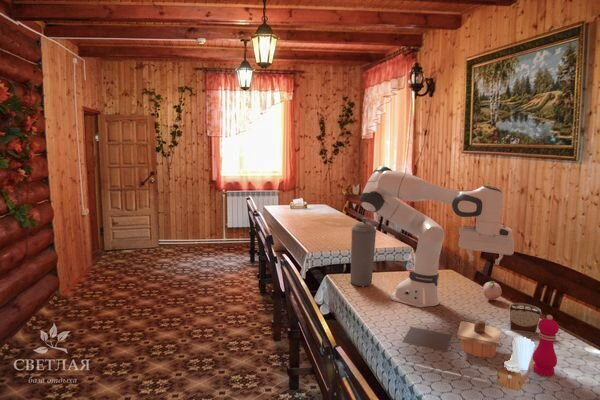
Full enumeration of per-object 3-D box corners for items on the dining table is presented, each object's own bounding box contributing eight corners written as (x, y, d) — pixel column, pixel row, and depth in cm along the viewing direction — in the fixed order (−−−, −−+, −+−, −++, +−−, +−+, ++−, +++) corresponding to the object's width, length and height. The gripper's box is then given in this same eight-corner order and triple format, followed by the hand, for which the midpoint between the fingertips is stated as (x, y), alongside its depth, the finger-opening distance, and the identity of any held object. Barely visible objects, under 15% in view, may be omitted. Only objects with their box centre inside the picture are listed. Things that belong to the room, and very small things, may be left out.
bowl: (458, 353, 164) (460, 337, 164) (462, 340, 175) (463, 325, 174) (494, 361, 159) (496, 344, 159) (496, 347, 170) (497, 332, 169)
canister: (345, 279, 244) (349, 215, 239) (368, 279, 247) (372, 215, 242) (352, 287, 232) (356, 220, 227) (376, 287, 234) (380, 220, 229)
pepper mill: (526, 366, 156) (532, 310, 154) (546, 366, 157) (553, 310, 154) (539, 377, 149) (546, 319, 146) (560, 377, 150) (567, 319, 147)
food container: (537, 328, 189) (540, 305, 187) (539, 334, 183) (542, 310, 182) (505, 323, 193) (507, 300, 191) (506, 329, 187) (508, 305, 186)
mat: (402, 343, 171) (402, 342, 171) (410, 327, 185) (410, 326, 185) (446, 353, 164) (446, 351, 164) (452, 336, 179) (452, 334, 179)
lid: (456, 338, 163) (457, 325, 162) (460, 324, 176) (461, 312, 175) (499, 346, 157) (500, 333, 157) (500, 331, 170) (501, 319, 169)
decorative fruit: (501, 305, 215) (503, 284, 213) (482, 302, 217) (484, 282, 216) (499, 298, 223) (501, 278, 222) (481, 296, 226) (483, 276, 225)
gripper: (458, 225, 178) (455, 260, 180) (516, 232, 170) (512, 268, 172) (460, 223, 184) (457, 256, 186) (516, 229, 176) (512, 264, 178)
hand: (483, 262), depth 179 cm, fingers open, 8 cm apart
